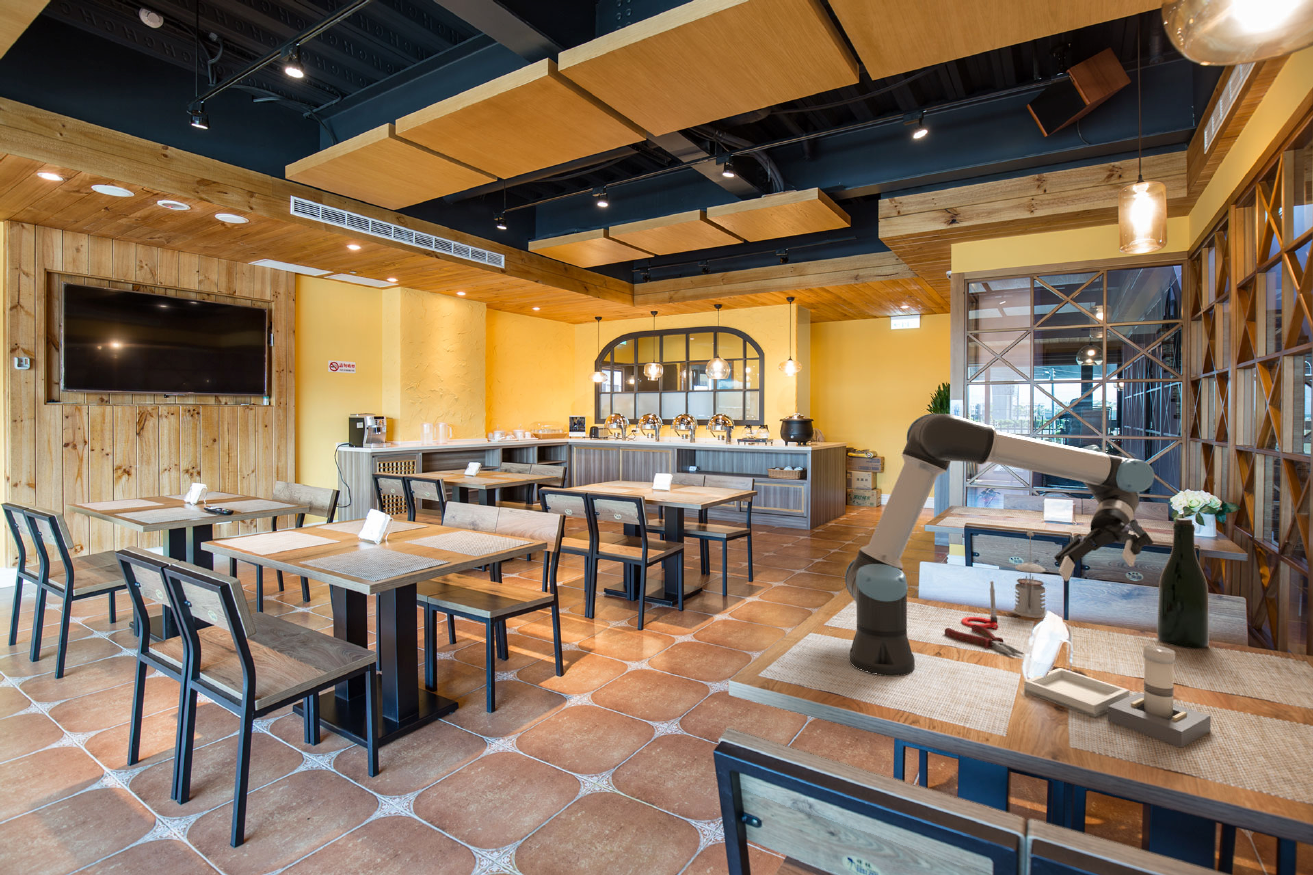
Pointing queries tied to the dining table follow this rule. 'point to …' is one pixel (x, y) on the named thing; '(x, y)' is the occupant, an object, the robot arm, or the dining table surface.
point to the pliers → (982, 639)
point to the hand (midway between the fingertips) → (1094, 568)
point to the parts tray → (1075, 691)
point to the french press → (1030, 591)
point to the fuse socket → (1160, 721)
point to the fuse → (1158, 681)
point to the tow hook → (989, 622)
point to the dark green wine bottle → (1183, 593)
